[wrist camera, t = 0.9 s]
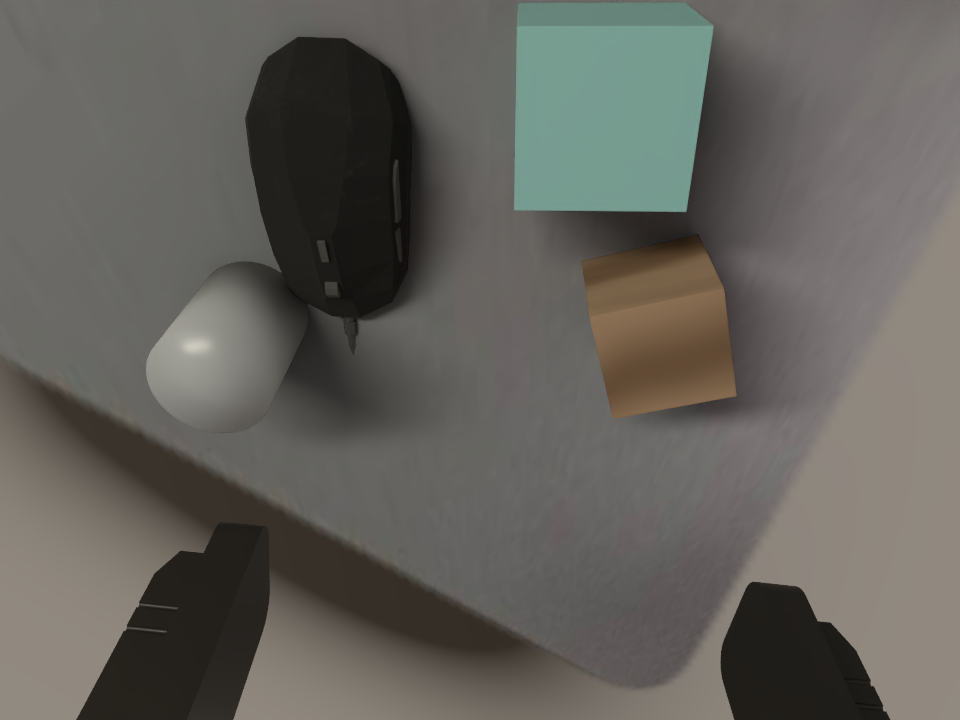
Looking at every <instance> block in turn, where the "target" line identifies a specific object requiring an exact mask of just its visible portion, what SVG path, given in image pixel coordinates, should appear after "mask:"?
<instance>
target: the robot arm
mask: <svg viewBox="0 0 960 720" xmlns="http://www.w3.org/2000/svg"><path fill="white" fill-rule="evenodd" d="M269 583H270V580H269V533H268V528H267V527H265V526H256V525H248V524H239V523H229V522H220V523H219V524H218V525H217V527H216V529H215V531H214V532H213V535H212V537H211V539H210V541H209V543H208V545H207V547H206V550H205V551H204V553H196V552H186V551H180V552H179V553H178V554H177V555H175V556H174V557H173V558H172V559H171V560H170V561H168V562H167V563H166V564H165V565H164V566H163V567H162V568H160V569H159V570H158V571H157V572H156V573H155V574H154V575H153V577H152V579H151V581H150V583H149V585H148V587H147V589H146V590H145V592H144V594H143V596H142V598H141V600H140V602H139V607H138V608H137V607H136V609H135V611H134V613H133V615H132V617H131V619H130V620H129V622H128V624H127V629H126V631H124V632H123V634H122V636H121V637H120V639H119V641H118V643H117V645H116V647H115V648H114V650H113V652H112V654H111V656H110V658H109V660H108V662H107V664H106V665H105V667H104V669H103V671H102V673H101V675H100V677H99V679H98V680H97V682H96V684H95V686H94V688H93V690H92V692H91V693H90V695H89V697H88V699H87V701H86V703H85V705H84V707H83V708H82V710H81V712H80V714H79V716H78V718H77V719H76V720H233V719H234V716H235V713H236V709H237V707H238V703H239V701H240V698H241V695H242V692H243V689H244V685H245V683H246V680H247V677H248V674H249V671H250V668H251V665H252V662H253V659H254V656H255V653H256V650H257V647H258V644H259V641H260V638H261V635H262V632H263V628H264V625H265V621H266V616H267V611H268V605H269V594H270V584H269ZM721 674H722V679H723V683H724V687H725V690H726V693H727V697H728V700H729V703H730V706H731V710H732V713H733V717H734V720H890V718H889V716H888V715H887V713H886V712H884V711H883V705H882V702H881V700H880V698H879V696H878V694H877V692H876V690H875V688H874V687H873V686H871V685H870V681H871V680H870V678H869V676H868V674H867V672H866V670H865V668H864V666H863V664H862V662H861V660H860V658H859V656H858V654H857V652H856V650H855V649H854V648H853V647H852V646H851V645H850V643H849V642H848V641H847V640H846V639H845V638H844V637H843V636H842V635H841V634H840V633H839V632H838V631H837V629H836V628H835V627H834V626H833V625H832V624H831V623H828V622H818V621H817V619H816V617H815V615H814V613H813V610H812V608H811V606H810V604H809V602H808V600H807V598H806V595H805V594H804V592H803V591H802V590H801V589H800V588H799V587H796V586H788V585H778V584H769V583H760V582H752V583H750V584H749V585H748V586H747V588H746V590H745V592H744V594H743V597H742V599H741V601H740V604H739V606H738V608H737V611H736V613H735V615H734V618H733V620H732V623H731V625H730V627H729V630H728V632H727V634H726V637H725V639H724V642H723V645H722V650H721Z"/></svg>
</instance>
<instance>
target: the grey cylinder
mask: <svg viewBox="0 0 960 720" xmlns="http://www.w3.org/2000/svg"><path fill="white" fill-rule="evenodd" d="M308 318H309V317H308V309H307V305H306V302H305V301H303V300H301V299H299V298H298V297H297V296H296V295H295V293H294V292H293V291H292V289H291V288H290V287H289V286H288V284H287V282H286V280H285V278H284V276H283V274H282V273H281V272H279V271H277V270H275V269H273V268H271V267H269V266H266V265H263V264H260V263H255V262H235V263H230V264H227V265H225V266H222V267H220V268H219V269H217V270H216V271H214V272H213V273H212V274H211V275H210V276H209V278H208V279H207V280H206V281H205V283H204V284H203V285H202V286H201V288H200V289H199V290H198V292H197V293H196V294H195V295H194V297H193V298H192V299H191V300H190V302H189V303H188V304H187V306H186V307H185V308H184V309H183V311H182V312H181V313H180V314H179V316H178V317H177V318H176V320H175V321H174V322H173V323H172V325H171V326H170V327H169V328H168V330H167V331H166V332H165V333H164V335H163V336H162V337H161V339H160V340H159V341H158V342H157V344H156V345H155V346H154V348H153V349H152V350H151V352H150V354H149V356H148V360H147V365H146V375H147V380H148V384H149V386H150V389H151V391H152V393H153V395H154V396H155V398H156V399H157V401H158V402H159V403H160V404H161V405H162V407H163V408H164V409H165V410H167V411H168V412H169V413H170V414H171V415H172V416H174V417H175V418H177V419H178V420H180V421H181V422H183V423H185V424H187V425H189V426H191V427H194V428H197V429H200V430H203V431H207V432H213V433H233V432H239V431H243V430H245V429H248V428H250V427H252V426H254V425H255V424H257V423H258V422H259V421H260V420H261V419H262V418H263V417H264V416H265V414H266V413H267V411H268V409H269V407H270V405H271V403H272V401H273V399H274V397H275V395H276V393H277V391H278V389H279V387H280V385H281V382H282V380H283V378H284V376H285V374H286V372H287V370H288V368H289V366H290V364H291V362H292V360H293V358H294V355H295V353H296V351H297V349H298V347H299V345H300V343H301V341H302V339H303V337H304V335H305V332H306V330H307V326H308Z"/></svg>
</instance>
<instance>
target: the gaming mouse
mask: <svg viewBox="0 0 960 720" xmlns="http://www.w3.org/2000/svg"><path fill="white" fill-rule="evenodd" d="M245 121H246V129H247V138H248V146H249V154H250V163H251V168H252V172H253V176H254V180H255V185H256V190H257V195H258V200H259V206H260V211H261V215H262V218H263V221H264V225H265V228H266V231H267V234H268V237H269V241H270V244H271V247H272V250H273V254H274V256H275V258H276V260H277V263H278V265H279V267H280V269H281V271H282V274H283V276H284V278H285V280H286V282H287V284H288V286H289V287H290V288H291V289H292V291H293V292H294V293H295V295H296V296H297V297H298V298H299V299H301V300H303V301H305V302H307V303H309V304H311V305H312V306H314V307H316V308H318V309H320V310H322V311H324V312H326V313H328V314H329V315H331V316H343V317H344V328H345V333H346V335H348V338H349V345H350V348H351V351H352V353H353V355H354V350H355V335H356V334H357V333H358V327H357V321H355V318H356V317H362V316H364V315H366V314H368V313H370V312H372V311H374V310H376V309H379V308H381V307H383V306H385V305H387V304H389V303H391V302H392V301H393V299H394V297H395V295H396V293H397V291H398V289H399V287H400V285H401V283H402V281H403V278H404V276H405V274H406V272H407V270H408V255H409V239H410V184H411V163H412V148H411V123H410V120H409V116H408V113H407V109H406V106H405V102H404V98H403V95H402V91H401V88H400V85H399V83H398V81H397V80H396V78H395V77H394V75H393V73H392V72H391V70H390V69H389V68H388V67H387V66H385V65H384V64H383V63H382V62H380V61H379V60H378V59H376V58H374V57H373V56H371V55H370V54H368V53H367V52H365V51H364V50H362V49H361V48H359V47H357V46H356V45H354V44H353V43H351V42H350V41H348V40H347V39H344V38H316V37H297V38H296V39H294V40H293V41H291V42H290V43H288V44H287V45H285V46H284V47H282V48H281V49H279V50H278V51H276V52H275V53H273V54H272V55H270V56H269V57H268V58H267V59H266V61H265V62H264V64H263V65H262V68H261V71H260V74H259V77H258V80H257V83H256V86H255V89H254V92H253V96H252V99H251V102H250V105H249V108H248V111H247V114H246V117H245Z"/></svg>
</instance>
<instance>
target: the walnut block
mask: <svg viewBox="0 0 960 720" xmlns="http://www.w3.org/2000/svg"><path fill="white" fill-rule="evenodd" d="M582 267H583V274H584V281H585V288H586V295H587V302H588V309H589V316H590V321H591V325H592V330H593V334H594V338H595V343H596V347H597V351H598V356H599V360H600V365H601V369H602V373H603V378H604V382H605V387H606V391H607V395H608V400H609V404H610V408H611V413H612V417H613V419H615V418H620V417H626V416H631V415H636V414H642V413H647V412H653V411H658V410H664V409H669V408H674V407H680V406H685V405H691V404H696V403H702V402H707V401H712V400H718V399H723V398H729V397H734V396H737V395H736V387H735V378H734V370H733V361H732V353H731V344H730V335H729V327H728V318H727V310H726V301H725V293H724V287H723V285H722V283H721V281H720V279H719V277H718V275H717V273H716V271H715V269H714V266H713V264H712V262H711V260H710V258H709V256H708V254H707V252H706V250H705V248H704V245H703V243H702V241H701V239H700V237H699V235H695V236H690V237H686V238H681V239H677V240H672V241H668V242H664V243H659V244H655V245H650V246H646V247H641V248H637V249H632V250H628V251H624V252H619V253H615V254H610V255H606V256H601V257H597V258H592V259H588V260H584V261H582Z"/></svg>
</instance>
